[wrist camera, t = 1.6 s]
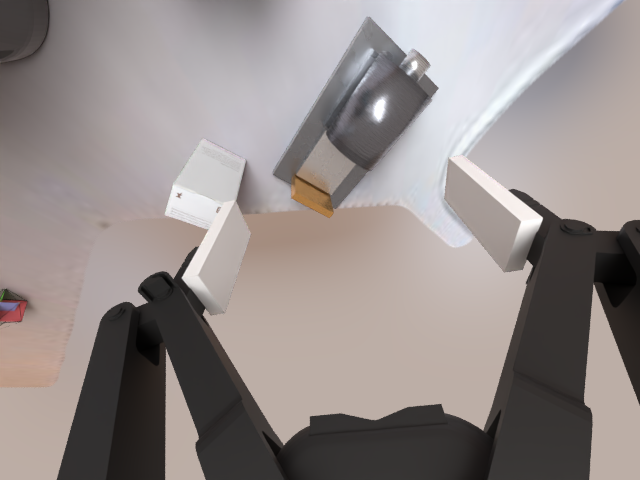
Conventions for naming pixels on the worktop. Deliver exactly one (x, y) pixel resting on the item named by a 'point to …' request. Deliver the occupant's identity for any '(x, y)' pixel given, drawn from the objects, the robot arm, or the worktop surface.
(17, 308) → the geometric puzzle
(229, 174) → the skincare box
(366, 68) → the motor
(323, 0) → the worktop surface
